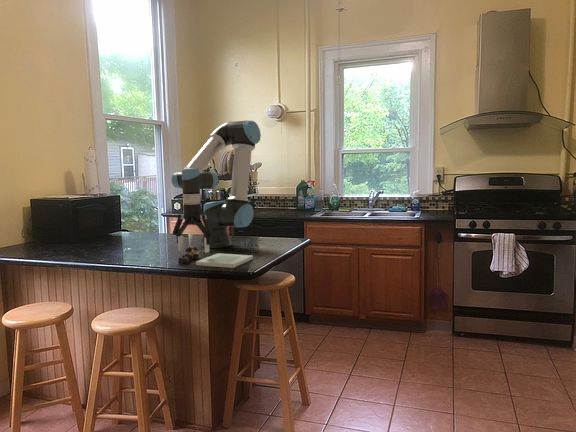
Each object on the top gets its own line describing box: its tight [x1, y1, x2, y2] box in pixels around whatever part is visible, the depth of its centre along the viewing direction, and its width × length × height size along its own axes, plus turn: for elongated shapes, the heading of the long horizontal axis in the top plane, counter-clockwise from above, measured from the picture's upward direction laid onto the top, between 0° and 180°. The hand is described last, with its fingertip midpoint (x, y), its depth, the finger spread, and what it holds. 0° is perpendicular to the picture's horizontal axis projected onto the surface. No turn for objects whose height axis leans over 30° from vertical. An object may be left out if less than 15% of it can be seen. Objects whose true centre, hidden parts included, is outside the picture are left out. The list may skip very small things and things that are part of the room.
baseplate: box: [195, 253, 254, 269], centre depth 197 cm, size 18×18×2 cm
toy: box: [177, 245, 201, 265], centre depth 201 cm, size 6×7×15 cm
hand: (193, 251), depth 201 cm, fingers open, 13 cm apart
